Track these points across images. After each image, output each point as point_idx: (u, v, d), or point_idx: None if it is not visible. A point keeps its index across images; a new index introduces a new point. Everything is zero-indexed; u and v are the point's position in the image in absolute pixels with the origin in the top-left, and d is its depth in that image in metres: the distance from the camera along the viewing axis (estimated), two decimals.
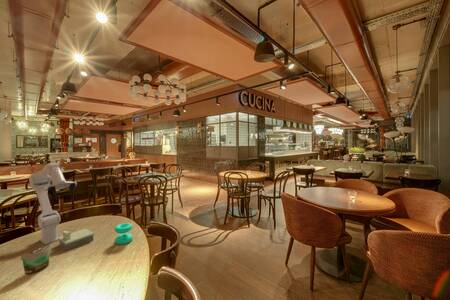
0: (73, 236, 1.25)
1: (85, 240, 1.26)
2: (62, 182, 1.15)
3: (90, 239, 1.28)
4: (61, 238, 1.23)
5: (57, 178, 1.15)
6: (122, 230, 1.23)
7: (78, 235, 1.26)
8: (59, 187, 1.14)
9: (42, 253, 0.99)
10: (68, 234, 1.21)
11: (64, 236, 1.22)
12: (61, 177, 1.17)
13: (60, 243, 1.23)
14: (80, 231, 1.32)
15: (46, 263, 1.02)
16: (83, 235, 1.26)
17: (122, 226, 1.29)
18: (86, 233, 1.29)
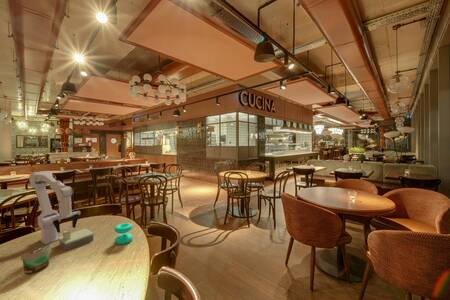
0: (73, 236, 1.25)
1: (85, 240, 1.26)
2: None
3: (90, 239, 1.28)
4: (61, 238, 1.23)
5: (64, 211, 1.19)
6: (122, 230, 1.23)
7: (78, 235, 1.26)
8: (63, 218, 1.21)
9: (42, 253, 0.99)
10: (68, 234, 1.21)
11: (64, 236, 1.22)
12: (68, 210, 1.21)
13: (60, 243, 1.23)
14: (80, 231, 1.32)
15: (46, 263, 1.02)
16: (83, 235, 1.26)
17: (122, 226, 1.29)
18: (86, 233, 1.29)
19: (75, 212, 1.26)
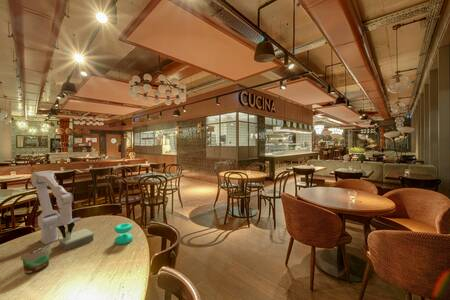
0: (73, 236, 1.25)
1: (85, 240, 1.26)
2: None
3: (90, 239, 1.28)
4: (61, 238, 1.23)
5: (65, 218, 1.19)
6: (122, 230, 1.23)
7: (78, 235, 1.26)
8: None
9: (42, 253, 0.99)
10: (68, 234, 1.21)
11: None
12: (69, 216, 1.21)
13: (60, 243, 1.23)
14: (80, 231, 1.32)
15: (46, 263, 1.02)
16: (83, 235, 1.26)
17: (122, 226, 1.29)
18: (86, 233, 1.29)
19: (75, 219, 1.26)
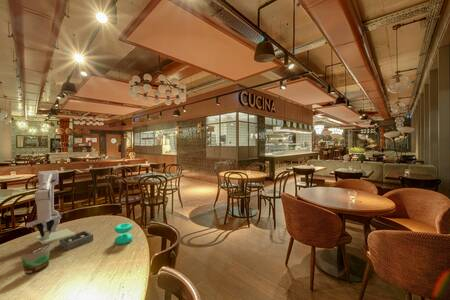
0: (52, 236, 1.16)
1: (85, 240, 1.26)
2: None
3: (90, 239, 1.28)
4: (39, 237, 1.14)
5: (43, 215, 1.11)
6: (122, 230, 1.23)
7: (58, 235, 1.18)
8: (42, 223, 1.12)
9: (42, 253, 0.99)
10: (47, 233, 1.13)
11: None
12: (47, 214, 1.12)
13: (60, 243, 1.23)
14: (61, 231, 1.23)
15: (46, 263, 1.02)
16: (63, 235, 1.18)
17: (122, 226, 1.29)
18: (67, 233, 1.20)
19: (55, 216, 1.18)
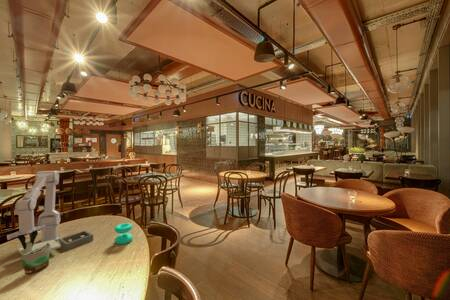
0: (36, 248, 1.11)
1: (85, 240, 1.26)
2: None
3: (90, 239, 1.28)
4: (21, 249, 1.08)
5: (25, 226, 1.05)
6: (122, 230, 1.23)
7: None
8: (24, 234, 1.07)
9: (42, 253, 0.99)
10: (29, 245, 1.07)
11: None
12: (30, 225, 1.07)
13: (60, 243, 1.23)
14: (46, 242, 1.17)
15: (46, 263, 1.02)
16: None
17: (122, 226, 1.29)
18: (52, 245, 1.15)
19: (39, 227, 1.12)
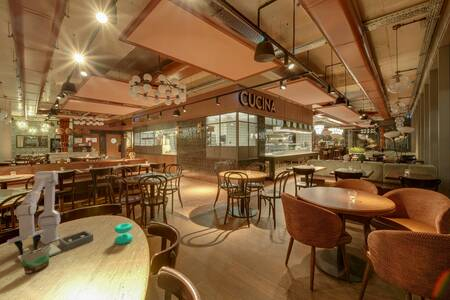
0: None
1: (85, 240, 1.26)
2: None
3: (90, 239, 1.28)
4: None
5: (25, 231, 1.05)
6: (122, 230, 1.23)
7: None
8: None
9: (42, 253, 0.99)
10: (28, 253, 1.07)
11: None
12: (30, 229, 1.07)
13: (60, 243, 1.23)
14: None
15: (46, 263, 1.02)
16: None
17: (122, 226, 1.29)
18: (51, 250, 1.15)
19: (39, 231, 1.12)
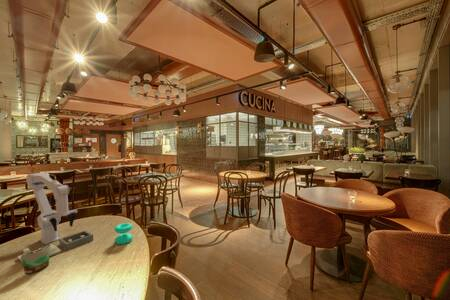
0: None
1: (85, 240, 1.26)
2: (64, 215, 1.21)
3: (90, 239, 1.28)
4: None
5: (61, 209, 1.20)
6: (122, 230, 1.23)
7: None
8: (60, 216, 1.22)
9: (42, 253, 0.99)
10: (28, 253, 1.07)
11: None
12: (65, 208, 1.22)
13: (60, 243, 1.23)
14: None
15: (46, 263, 1.02)
16: None
17: (122, 226, 1.29)
18: (51, 250, 1.15)
19: (72, 210, 1.27)
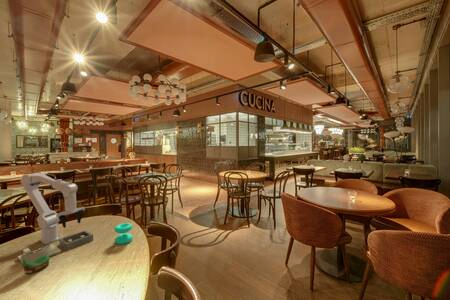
0: None
1: (85, 240, 1.26)
2: None
3: (90, 239, 1.28)
4: None
5: (70, 207, 1.25)
6: (122, 230, 1.23)
7: None
8: None
9: (42, 253, 0.99)
10: (28, 253, 1.07)
11: None
12: (74, 205, 1.26)
13: (60, 243, 1.23)
14: None
15: (46, 263, 1.02)
16: None
17: (122, 226, 1.29)
18: (51, 250, 1.15)
19: (80, 208, 1.31)
